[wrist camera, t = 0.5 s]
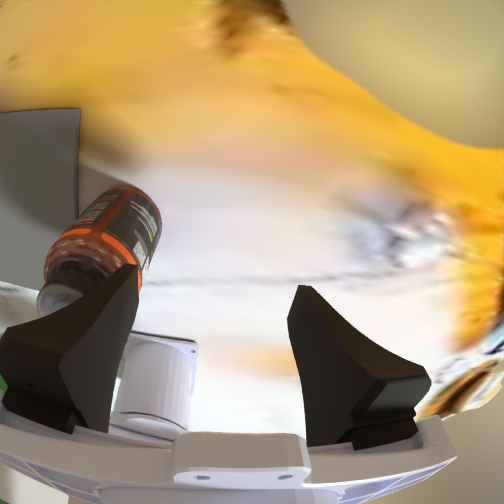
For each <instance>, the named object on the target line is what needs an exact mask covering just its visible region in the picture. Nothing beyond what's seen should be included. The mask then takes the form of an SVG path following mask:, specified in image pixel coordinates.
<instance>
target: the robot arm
mask: <svg viewBox="0 0 504 504" xmlns="http://www.w3.org/2000/svg"><path fill="white" fill-rule="evenodd" d="M138 304H139V288H138V265H135V264H128V263H125V264H123V265H122V266H121V267H120V268H118V269H117V270H116V271H115V272H113V273H112V274H111V275H110V276H109V277H107V278H106V279H105V280H104V281H102V282H101V283H100V284H99V285H97V286H96V287H95V288H93V289H92V290H91V291H89V292H88V293H86V294H85V295H84V296H82V297H81V298H79V299H77V300H76V301H74V302H72V303H71V304H69V305H67V306H65V307H63V308H61V309H59V310H57V311H55V312H53V313H51V314H49V315H47V316H44V317H42V318H39V319H36V320H33V321H30V322H27V323H24V324H20V325H16V326H12V327H8V328H7V329H6V330H5V332H4V334H3V335H2V337H1V338H0V374H1V376H2V378H3V379H4V381H5V383H6V384H7V386H8V388H7V390H6V392H4V391H2V390H1V389H0V462H1V463H2V464H4V465H6V466H8V467H10V468H12V469H14V470H16V471H18V472H20V473H22V474H24V475H26V476H28V477H30V478H32V479H34V480H36V481H38V482H40V483H42V484H45V485H47V486H49V487H51V488H54V489H56V490H59V491H61V492H64V493H66V494H69V495H71V496H74V497H77V498H80V499H83V500H86V501H88V502H91V503H93V504H360V503H363V502H366V501H369V500H372V499H375V498H378V497H381V496H384V495H387V494H390V493H392V492H395V491H397V490H400V489H403V488H405V487H408V486H411V485H413V484H415V483H418V482H421V481H423V480H425V479H426V478H428V477H430V476H431V475H433V474H434V473H436V472H437V471H439V470H440V469H442V468H443V467H444V466H446V465H447V464H449V463H450V462H451V461H453V460H454V459H455V458H457V453H456V451H455V449H454V447H453V445H452V442H451V440H450V438H449V436H448V434H447V432H446V430H445V428H444V425H443V423H442V421H441V419H440V417H439V415H435V416H432V417H428V418H425V419H421V420H419V421H417V422H416V423H415V421H414V419H413V417H415V416H416V412H415V410H414V407H415V406H416V405H417V404H418V403H419V402H420V401H421V400H422V399H423V397H424V396H425V395H426V394H427V392H428V391H429V389H430V387H431V382H432V381H431V379H430V377H429V376H428V374H427V372H426V370H425V368H424V367H423V366H421V365H418V364H416V363H413V362H411V361H408V360H406V359H404V358H402V357H400V356H398V355H396V354H394V353H392V352H390V351H388V350H386V349H384V348H383V347H381V346H380V345H378V344H376V343H375V342H373V341H372V340H370V339H369V338H368V337H366V336H365V335H364V334H362V333H361V332H359V331H358V330H357V329H356V328H354V327H353V326H352V325H351V324H350V323H349V322H348V321H346V320H345V319H344V318H343V317H342V316H341V315H340V314H339V313H338V312H337V311H336V310H335V309H334V308H333V307H332V306H331V305H330V304H329V303H328V302H327V301H326V300H325V299H324V298H323V297H322V296H321V295H320V294H319V293H318V292H317V291H316V290H315V289H314V288H313V287H312V286H306V285H298V288H297V291H296V294H295V297H294V300H293V303H292V306H291V309H290V311H289V314H288V317H287V323H288V332H289V338H290V342H291V346H292V350H293V354H294V357H295V361H296V365H297V368H298V372H299V376H300V381H301V386H302V394H303V401H304V411H305V423H306V440H305V439H303V438H301V437H300V436H298V435H296V434H286V433H265V434H252V433H221V432H190V431H189V415H190V397H191V395H192V394H193V392H194V383H195V374H196V366H197V358H198V350H199V345H198V344H197V343H195V342H187V341H180V340H172V339H166V338H159V337H153V336H146V335H140V334H135V333H130V331H131V329H132V326H133V323H134V320H135V316H136V312H137V308H138ZM122 353H123V354H124V361H125V366H124V370H123V374H122V378H121V381H120V385H119V389H118V393H117V398H116V402H115V406H114V410H113V412H111V404H112V397H113V391H114V386H115V380H116V375H117V371H118V366H119V363H120V359H121V356H122ZM110 412H111V416H110ZM306 444H307V445H306Z"/></svg>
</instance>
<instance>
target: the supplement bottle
mask: <svg viewBox="0 0 504 504" xmlns="http://www.w3.org/2000/svg"><path fill="white" fill-rule="evenodd" d="M161 230H162V222H161V216H160V213H159V210H158V208H157V206H156V205H155V203H154V202H153V201H152V199H151V198H150V197H149V196H147V195H146V194H145V193H143V192H141V191H139V190H137V189H134V188H131V187H116V188H112V189H110V190H108V191H106V192H105V193H103V194H102V195H100V196H99V197H98V198H97V199H96V200H95V201H94V202H93V203H92V204H91V205H90V206H89V207H88V208H87V209H86V210H85V211H84V212H83V213H82V214H81V215H80V216H79V217H78V218H77V219H76V220H75V221H74V222H73V223H72V224H71V225H70V227H69V228H68V229H67V230H66V231H65V232H64V233H63V234H62V235H61V236H60V237H59V239H58V240H57V241H56V242H55V243H54V244H53V245H52V247H51V248H50V250H49V252H48V254H47V256H46V259H45V263H44V280H45V284H44V286H43V287H42V289H41V290H40V292H39V294H38V297H37V308H38V312H39V315H40V317H41V318H42V317H44V316H47V315H49V314H51V313H53V312H55V311H57V310H59V309H61V308H63V307H65V306H67V305H69V304H71V303H72V302H74V301H76V300H77V299H79V298H81V297H82V296H84V295H85V294H86V293H88V292H89V291H91V290H92V289H93V288H95V287H96V286H97V285H99V284H100V283H101V282H102V281H104V280H105V279H106V278H107V277H109V276H110V275H111V274H112V273H113V272H115V271H116V270H117V269H118V268H120V267H121V266H122V265H123V264H125V263H128V264H135V265H138V288H139V292H140V289H141V287H142V284H143V281H144V278H145V275H146V273H147V270H148V267H149V264H150V262H151V259H152V257H153V254H154V251H155V249H156V246H157V244H158V241H159V238H160V235H161Z"/></svg>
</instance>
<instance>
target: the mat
mask: <svg viewBox="0 0 504 504" xmlns="http://www.w3.org/2000/svg"><path fill="white" fill-rule="evenodd" d="M80 116H81V109H48V110H30V111H18V112H8V113H0V281H4V282H7V283H11V284H15V285H18V286H22V287H26V288H30V289H34V290H38V291H40V290H41V289H42V287H43V286H44V284H45V280H44V263H45V259H46V256H47V254H48V252H49V250H50V248H51V247H52V245H53V244H54V243H55V242H56V241H57V240H58V239H59V237H60V236H61V235H62V234H63V233H64V232H65V231H66V230H67V229H68V228H69V227H70V225H71V224H72V223H73V222H74V221H75V220H76V219H77V218H78V200H77V166H78V142H79V127H80Z"/></svg>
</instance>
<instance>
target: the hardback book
mask: <svg viewBox="0 0 504 504" xmlns="http://www.w3.org/2000/svg"><path fill="white" fill-rule="evenodd" d="M7 388H8V386H7V384H6V383H5V381H4V379H3V378H2V376H1V374H0V389H1V390H2V391H4V392H6V390H7ZM68 498H69V494H66V493H64V492H61V491H59V490H56V489H54V488H51V487H49V486H47V485H45V484H42V483H40V482H38V481H36V480H34V479H32V478H30V477H28V476H26V475H24V474H22V473H20V472H18V471H16V470H14V469H12V468H10V467H8V466H6V465H4V464H2V463H1V462H0V504H68Z"/></svg>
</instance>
